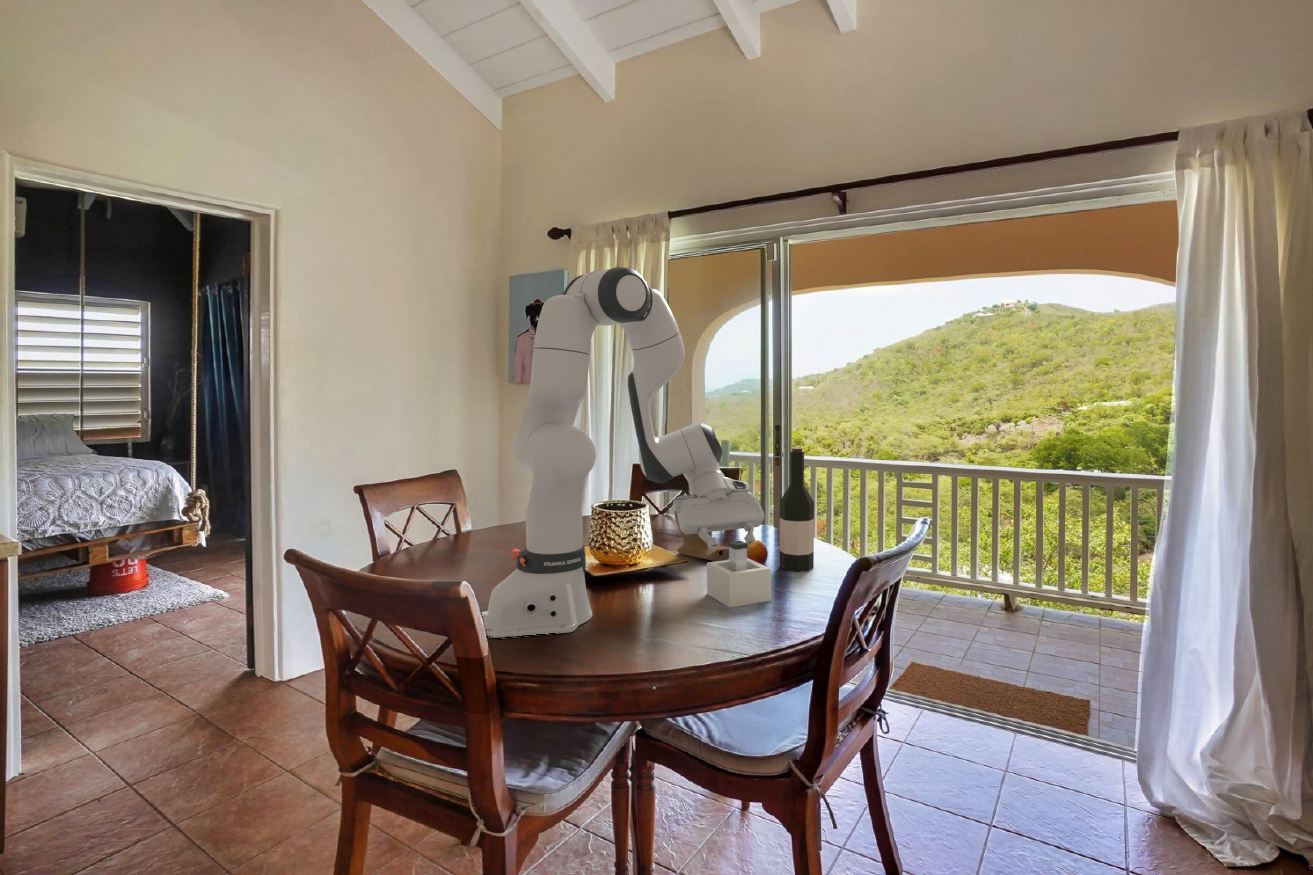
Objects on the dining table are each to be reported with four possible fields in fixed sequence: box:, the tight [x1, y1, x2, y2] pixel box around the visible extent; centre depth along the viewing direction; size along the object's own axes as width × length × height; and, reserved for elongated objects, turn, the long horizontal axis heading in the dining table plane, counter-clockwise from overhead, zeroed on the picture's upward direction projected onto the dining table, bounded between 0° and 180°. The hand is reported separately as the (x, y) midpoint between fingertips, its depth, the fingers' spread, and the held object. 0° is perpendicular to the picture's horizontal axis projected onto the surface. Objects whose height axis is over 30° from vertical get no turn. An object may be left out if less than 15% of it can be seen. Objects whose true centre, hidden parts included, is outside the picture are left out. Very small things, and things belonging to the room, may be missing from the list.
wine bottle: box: [779, 447, 815, 573], centre depth 165 cm, size 8×8×30 cm
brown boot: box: [674, 510, 729, 562], centre depth 176 cm, size 15×12×15 cm
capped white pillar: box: [727, 540, 748, 572], centre depth 143 cm, size 4×4×11 cm
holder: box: [706, 558, 772, 608], centre depth 143 cm, size 10×10×7 cm
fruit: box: [744, 539, 769, 567], centre depth 167 cm, size 8×8×8 cm
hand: (732, 544), depth 145 cm, fingers open, 8 cm apart
